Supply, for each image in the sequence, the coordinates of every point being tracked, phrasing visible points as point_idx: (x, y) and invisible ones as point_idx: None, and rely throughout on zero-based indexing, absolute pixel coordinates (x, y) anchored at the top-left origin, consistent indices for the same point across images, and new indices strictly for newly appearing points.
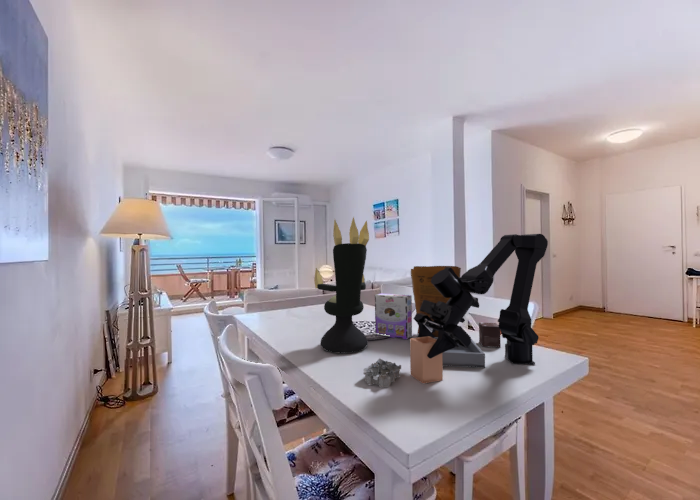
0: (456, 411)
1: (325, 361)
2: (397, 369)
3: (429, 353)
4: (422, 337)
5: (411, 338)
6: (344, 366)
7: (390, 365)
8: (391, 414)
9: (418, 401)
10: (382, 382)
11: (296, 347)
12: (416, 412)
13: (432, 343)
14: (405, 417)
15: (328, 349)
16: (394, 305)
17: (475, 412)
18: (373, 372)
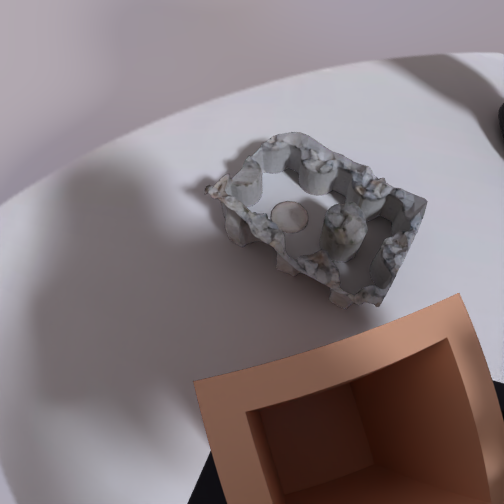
0: (16, 410)
1: (437, 101)
2: (331, 276)
3: (210, 454)
4: (488, 441)
5: (456, 306)
6: (415, 132)
7: (382, 251)
8: (57, 218)
9: (89, 318)
10: (222, 203)
11: (494, 77)
12: (39, 286)
13: None
14: (33, 249)
15: (499, 110)
16: None
17: (7, 460)
18: (348, 191)
